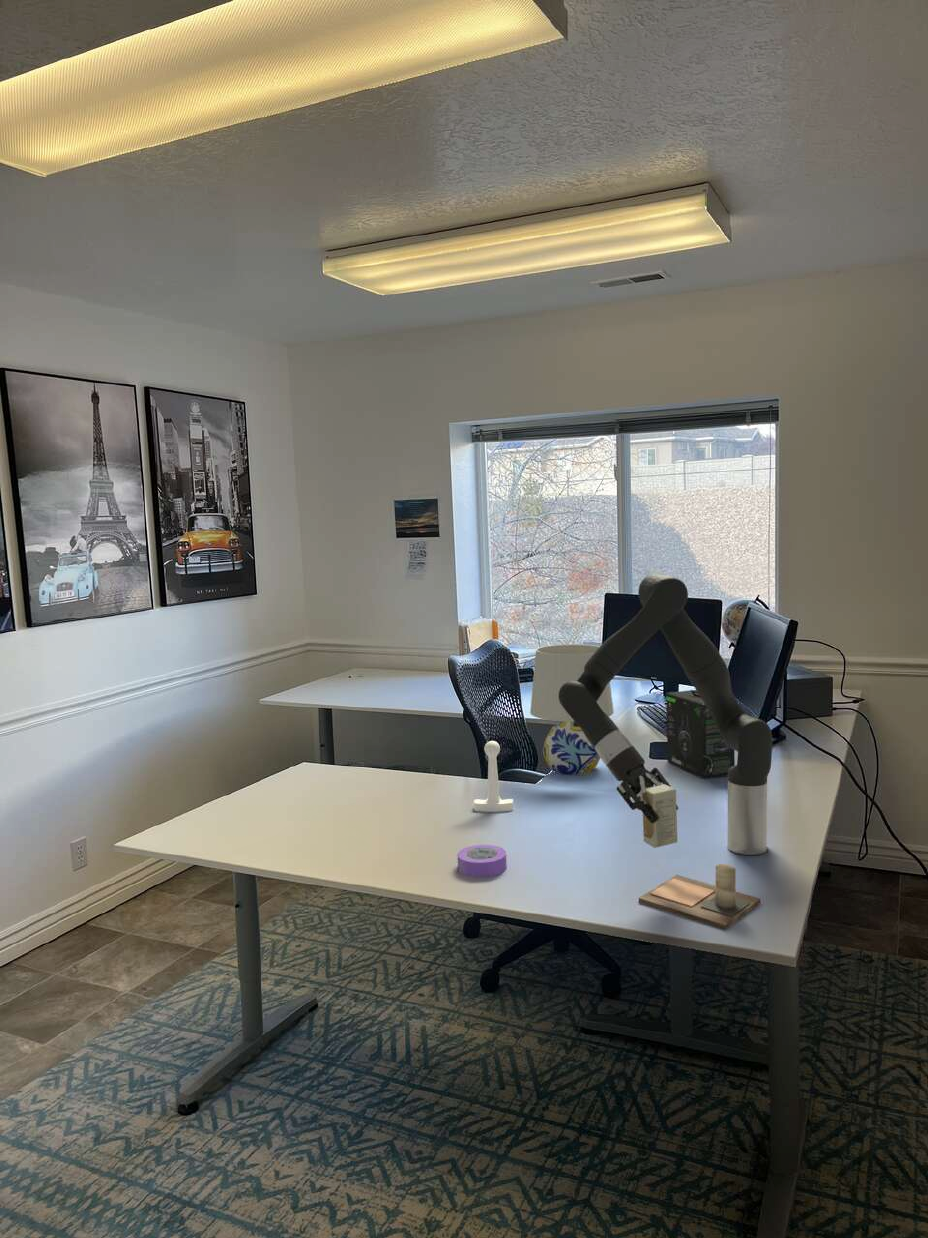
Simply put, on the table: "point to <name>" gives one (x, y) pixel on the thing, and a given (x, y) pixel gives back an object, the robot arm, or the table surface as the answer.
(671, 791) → the skincare box
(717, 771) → the headset box
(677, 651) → the robot arm
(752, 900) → the board
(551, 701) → the table lamp
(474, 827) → the table surface
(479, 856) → the masking tape
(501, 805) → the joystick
